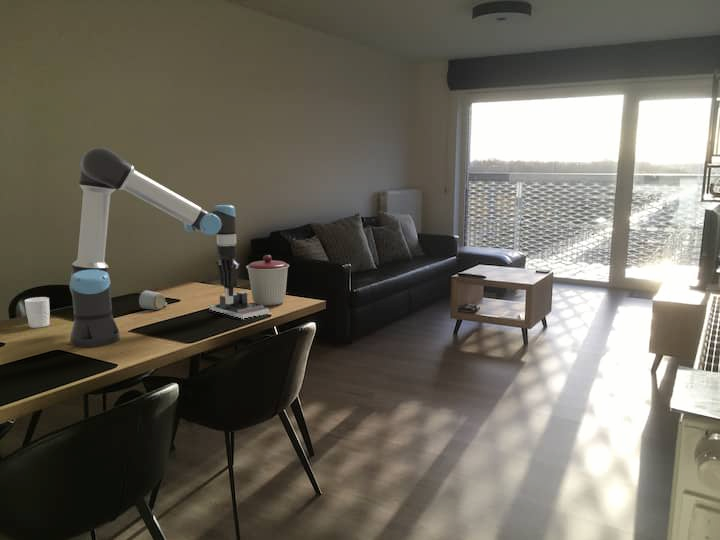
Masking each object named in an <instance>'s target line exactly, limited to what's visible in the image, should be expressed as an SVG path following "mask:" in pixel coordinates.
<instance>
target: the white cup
mask: <svg viewBox="0 0 720 540" xmlns="http://www.w3.org/2000/svg"><path fill="white" fill-rule="evenodd" d="M24 306H25V311H26V317H27V320H28V321H27V322H28V327H29V328H32V329H35V328H36V329H38V328H44V327H47V326H49V325H50V324H51V323H50V322H51V321H50V316H51V315H50V313H51V311H50V297H47V296H39V297H37V296H35V297H29V298H27V299H24Z"/></svg>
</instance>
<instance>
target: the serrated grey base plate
mask: <svg viewBox="0 0 720 540" xmlns="http://www.w3.org/2000/svg"><path fill="white" fill-rule="evenodd" d="M233 294H234V295H233V304H231V307H230V308H223V307H220V302H219V303H215V304H213V305H209V311H210V310H212V311H211V312H213V311H216V312H220V313H224V314H227V315H230V316H229V317H231V316H234V317H233V318H235V317H238V318H241V319H240V320H242V319H243V320H245V319H244V318H248V317H252V318H254V317H253V316H256V317H260V316H264V315H267V314H268V315H269V314H270V308H269V307H266V306H263V305H258V304H252V303H249V302H248V293H247V292H246V291H243V290H240V291H237V292H236V293H235V292H233ZM216 312H215V313H216ZM220 313H219V314H220ZM224 314H223V315H224ZM227 315H226V316H227ZM259 315H260V316H259ZM238 318H237V319H238ZM248 319H249V318H248Z"/></svg>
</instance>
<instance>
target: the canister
mask: <svg viewBox="0 0 720 540" xmlns="http://www.w3.org/2000/svg"><path fill="white" fill-rule="evenodd" d="M245 267H246V269H247V273H248V278H249V284H250V291H251V297H252V301H253V303H255V305H257V306H258V305H263V307H267V306H276V305H280V304H282V303H283V302H284V301H285V299H286V298H285V297H286V293H287V292H286V291H287V281H288V279H287V278H288V269H289V267H290V264H289V263H286V262H285V261H282V260H273V259H272V255H270V254H265V255H264V256H263V260H258V261H253V262H251V263H249V264H248V265H246V266H245Z"/></svg>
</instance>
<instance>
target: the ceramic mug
mask: <svg viewBox="0 0 720 540" xmlns="http://www.w3.org/2000/svg"><path fill="white" fill-rule="evenodd" d="M138 302H139V306H140V308H141V309H145V310H151V309H152V310H153V311H160V310H162V309H163V308H164V307H167V305H168V302H167V301H166V296H165V295H164V294H163V293H161V292H156V291H153V290H152V291H151V290H147V289H145V290H144V291H143V292H141V293H140V294H139V298H138Z"/></svg>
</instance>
